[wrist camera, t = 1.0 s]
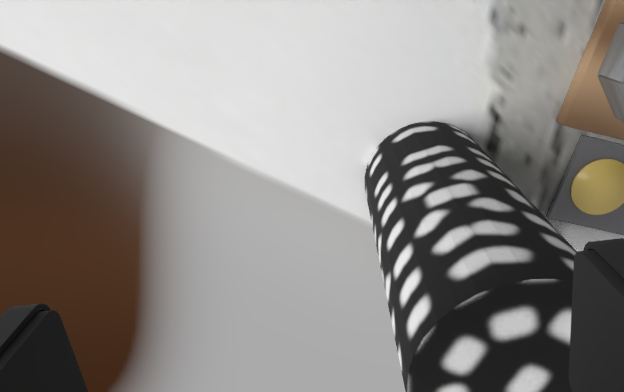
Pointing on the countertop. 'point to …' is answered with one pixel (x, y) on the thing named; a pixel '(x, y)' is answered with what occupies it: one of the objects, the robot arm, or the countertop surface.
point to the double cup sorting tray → (599, 78)
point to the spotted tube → (467, 268)
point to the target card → (592, 187)
